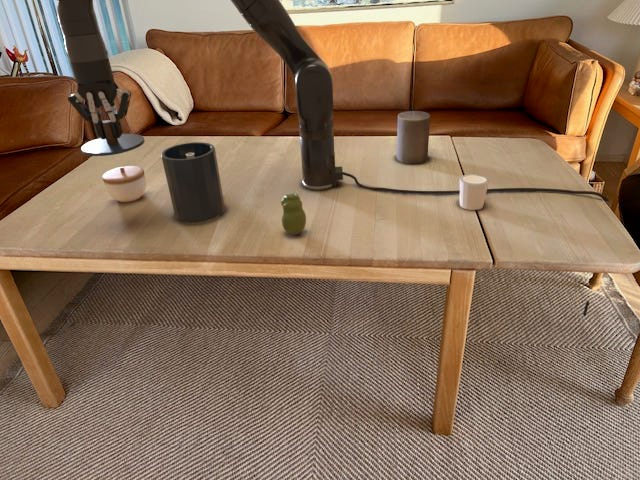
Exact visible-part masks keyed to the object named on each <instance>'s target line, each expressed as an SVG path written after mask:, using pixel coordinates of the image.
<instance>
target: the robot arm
mask: <svg viewBox="0 0 640 480" xmlns="http://www.w3.org/2000/svg"><path fill="white" fill-rule="evenodd" d="M230 2H231V3H232V4H233V6H234V7H235V8H236V9H237V11H238V13H239V14H240V16H242V18H243V19H244V20H245V22H246V23H247V25H248V26H249V27H250V28H251V29H252V30H253V31H254V33H255V34H256V35H257V36H258V37H259V38H260V39H261V40H262V41H264V42H265V44H266V45H268V46H269V47H270V48H271V49H272V50H273V51H274V52H275V53H276V54H277V55H278V56H279V57H280V58H281V59H282V61H283V62H284V64H285V65H286V67H287V68H288V69H289V71H290V72H291V73H290V74H291V75H292V77H293V78H294V80H295V96H296V105H297V106H296V108H297V118H298V129H299V145H300V158H301V173H302V186H303V187H304V188H306V189H307V190H312V191H322V190H323V191H324V190H327V189H328V190H329V189H330V188H336V187H337V181H343V180H344V176H346V177H349V178H351V179H353V181H354V182H355V184H356V185H357V186H358V187H359V188H362V189H365V190H372V191H384V192H390V193H391V192H392V193H402V194H420V195H423V194H425V195H429V194H430V195H446V194H449V195H450V194H453V195H454V194H460V189H459V190H414V189H413V190H409V189H399V188H398V189H397V188H388V187H372V186H367V185H363V184H361V183H360V182H359V180H358V179H357V177H356V176H355V175H353V174H351V173H348V172H345V171H343V166H336V152H335V130H334V128H335V127H334V85H333V76H332V72H331V70H330V67H329V66H328V65H327V64H326V62H325V61H324V60H322V58H321V57H320V56H319V55H318V54H317V53H316V52H315V51H314V50H313V48H312V47H311V46H310V45H309V44H308V42H306V40H305V38H304V37H303V36H302V35H301V33H300V32H299V30H298V28H297V26H296V25H295V22H294V21H293V20H292V17H291V16H290V14H289V13H288V11H287V9H286V8H285V7H284V5H283V4H282V2H281V1H280V0H230ZM56 14H57V15H56V16H57V19H58V22H59V26H60V29H61V32H62V33H61V34H62V35H63V39H64V45H65V50H66V53H67V56H68V60H69V63H70V66H71V70H72V73H73V76H74V79H75V82H76V84H77V89H76V92H75V93H73V94H71V95H69V96H68V97H67V101H68V102H69V103H70V104H71V106H72V107H73V108H74V109H75V111H77V113H78V114H79V115H80V116H81V118H82V119H83V120H84V121H85V122H92V123H93V124H94V126H95V130H96V132H97V133H96V134H97V135H98V138H101V139H106V137H105V134H104V130H103V127H102V123H101V122H102V121H103V114H102V107H103V108H104V110H105V112H106V113H107V115H108V118H109V120H111V121H112V122H111V127H112V130H113V134H114V137H115V139H116V138H120V137H121V134H123V133H124V132H123V127H122V125H121V120H123V119H124V118H125V117H126V116H127V115H128V111H129V107H130V103H131V98H132V92H131V91H130V90H124V89H121V88H119V86H118V84H117V83H116V81H115V78H114V73H113V69H112V66H111V63H110V58H109V52H108V50H107V47H106V44H105V40H104V38H103V36H102V33H101V30H100V25H99V21H98V18H97V15H96V12H95V8H94V0H57V6H56ZM117 96H118V99H119V101H120V103H119V108H118V106H117V103H116V98H117ZM84 101H85V102H86V103H87V104H88V106H87V105H86V104H85V102H84ZM490 192H548V193H549V192H550V193H551V192H552V193H564V194H565V193H566V194H573V195H594V196H597V197H600V198H601V199H602V200H604V201H605V202H610V200H609V198H608V197H606V196H605V195H604V194H602V193H599V192H597V191H591V190H572V189H571V190H570V189H560V188H544V187H543V188H542V187H541V188H539V187H505V188H503V187H502V188H501V187H500V188H487V192H486V193H490ZM590 302H591V301H590V300H589V301H586V302H585V306H584V309H583V313H582V316H583V317H586V316H587V314H588V313H587V312H588V309H589V305H590Z"/></svg>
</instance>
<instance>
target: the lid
mask: <svg viewBox="0 0 640 480" xmlns="http://www.w3.org/2000/svg"><path fill="white" fill-rule="evenodd" d="M111 122H112V121H111V120H110V119H106V120H102V122H101V123H102V127H103V130H104V134H105V137H106V139H101V137H98V138H95V139H92V140H90V141H88V142H86V143H85V144H83V145H82V146H81V148H80V150H81V152H82V154H84V155H86V156H89V157H90V156H91V157H105V156H114V155H119V154H123V153H127V152H130V151H133V150H135V149H137V148H140V147H141V146H142V145H143V144H144V143H145V137H144V136H143V135H141V134H138V133H137V134H136V133H122V134H121V137H120V138H116V139H115V137H114V134H113V130H112V127H111Z"/></svg>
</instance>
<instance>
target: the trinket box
mask: <svg viewBox="0 0 640 480" xmlns="http://www.w3.org/2000/svg"><path fill="white" fill-rule="evenodd" d="M101 177H102V182H103V183H104V186H105V190H107V193H108V194H109V196H110V197H111V198H113V199H114V200H115V201H118V202H120V203H130V202H134V201H137V200H139V199H141V198H142V196H143V195H144V194H145V192H146V189H147V180H146V176H145V169H144V168H143V167H141V166H139V165H138V166H137V165H126V166H124V165H123V166H119V167H115V168H111V169H110V170H108V171H106V172H105V173H103V175H102V176H101Z"/></svg>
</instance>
